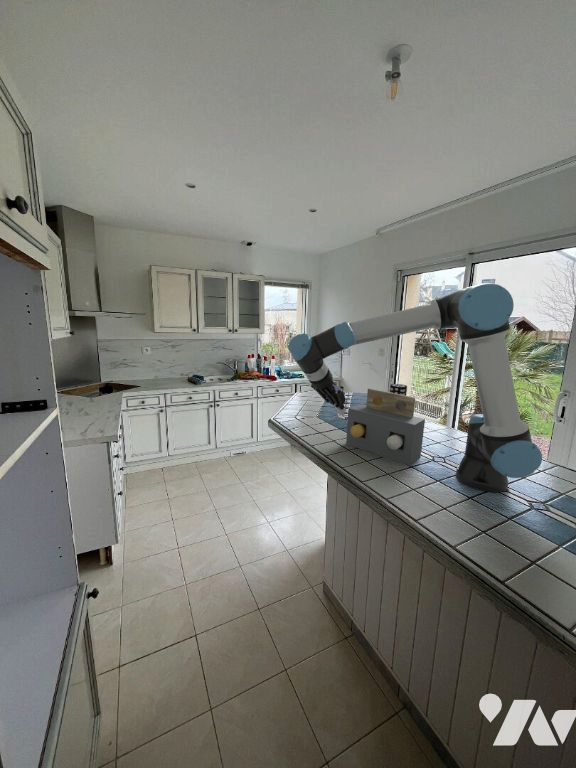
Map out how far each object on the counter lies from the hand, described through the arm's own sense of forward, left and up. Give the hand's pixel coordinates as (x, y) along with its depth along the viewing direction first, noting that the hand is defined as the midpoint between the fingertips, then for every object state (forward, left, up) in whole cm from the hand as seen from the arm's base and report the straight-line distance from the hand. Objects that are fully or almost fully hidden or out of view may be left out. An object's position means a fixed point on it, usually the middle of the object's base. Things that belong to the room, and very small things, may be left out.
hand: (343, 412), depth 118 cm
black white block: (+37, -44, -18) cm, 60 cm away
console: (+4, -19, -18) cm, 27 cm away
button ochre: (+7, -10, -13) cm, 17 cm away
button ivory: (-7, -19, -13) cm, 24 cm away
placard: (+5, -22, -2) cm, 22 cm away
